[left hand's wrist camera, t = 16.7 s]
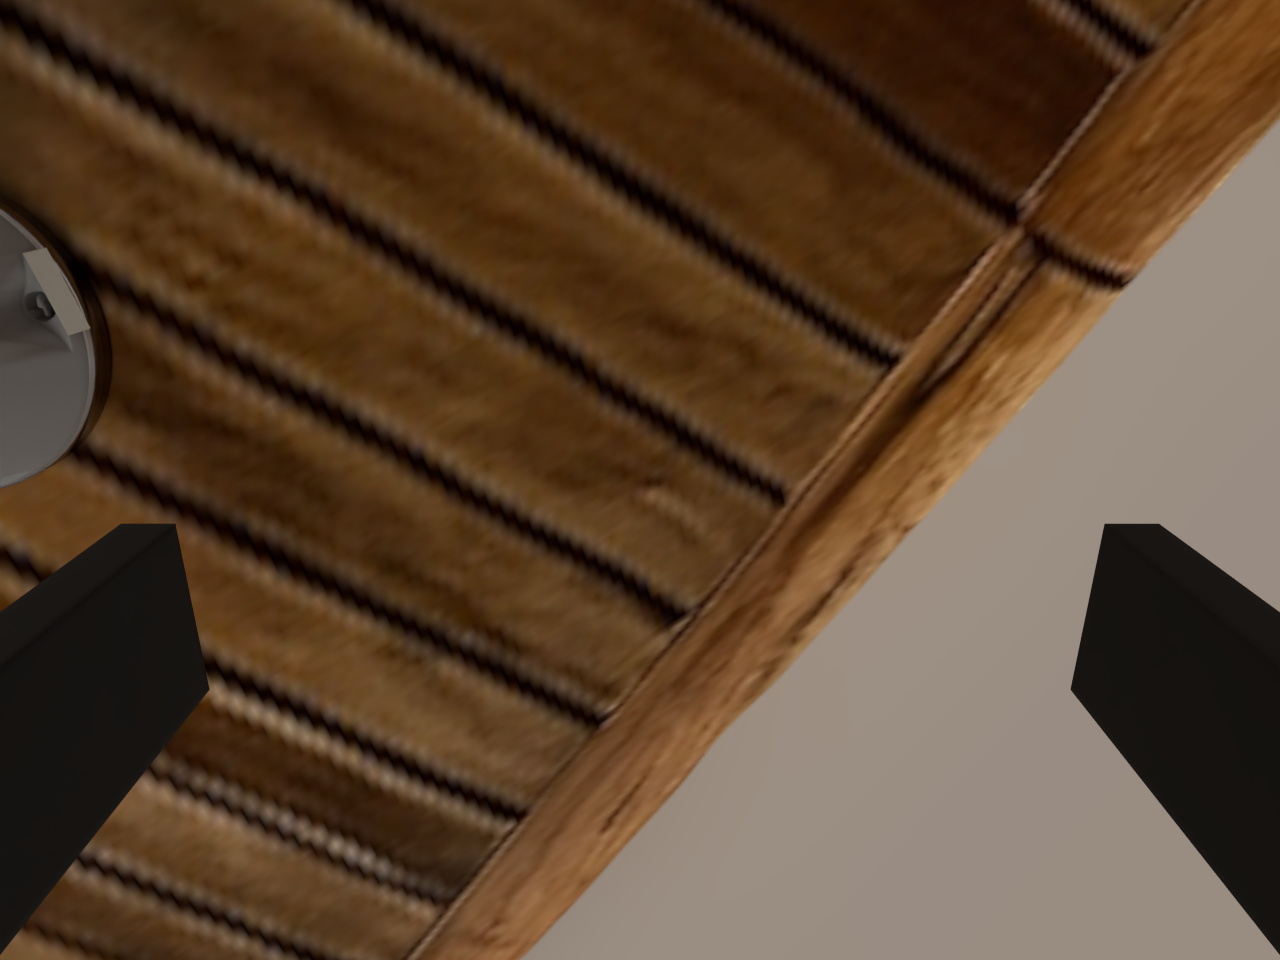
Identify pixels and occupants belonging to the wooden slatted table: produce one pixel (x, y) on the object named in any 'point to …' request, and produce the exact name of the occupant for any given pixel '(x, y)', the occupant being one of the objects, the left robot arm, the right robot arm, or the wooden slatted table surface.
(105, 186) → the wooden slatted table surface
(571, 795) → the wooden slatted table surface
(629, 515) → the wooden slatted table surface
